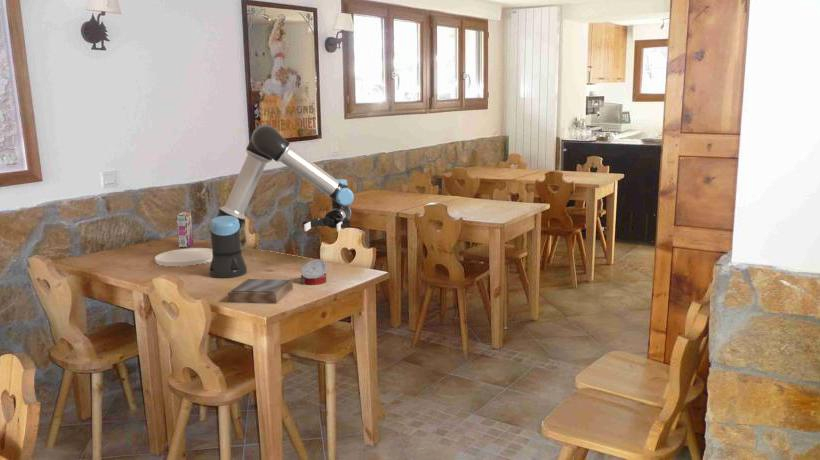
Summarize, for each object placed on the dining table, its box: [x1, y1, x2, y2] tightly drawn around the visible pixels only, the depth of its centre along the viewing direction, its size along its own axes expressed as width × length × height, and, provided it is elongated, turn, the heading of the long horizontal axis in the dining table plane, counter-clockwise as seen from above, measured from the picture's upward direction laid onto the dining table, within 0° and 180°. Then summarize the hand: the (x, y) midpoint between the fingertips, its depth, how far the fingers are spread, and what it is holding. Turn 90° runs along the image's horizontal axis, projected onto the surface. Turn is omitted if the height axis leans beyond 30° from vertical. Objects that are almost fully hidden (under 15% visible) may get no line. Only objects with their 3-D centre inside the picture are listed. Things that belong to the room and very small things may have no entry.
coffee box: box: [240, 220, 248, 251], centre depth 331 cm, size 9×6×16 cm
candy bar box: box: [175, 211, 194, 249], centre depth 342 cm, size 11×5×16 cm, turn 5°
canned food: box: [300, 258, 327, 286], centre depth 270 cm, size 11×10×10 cm
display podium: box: [227, 278, 294, 304], centre depth 253 cm, size 18×18×4 cm
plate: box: [154, 247, 213, 268], centre depth 314 cm, size 28×28×2 cm
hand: (321, 228), depth 277 cm, fingers open, 13 cm apart
